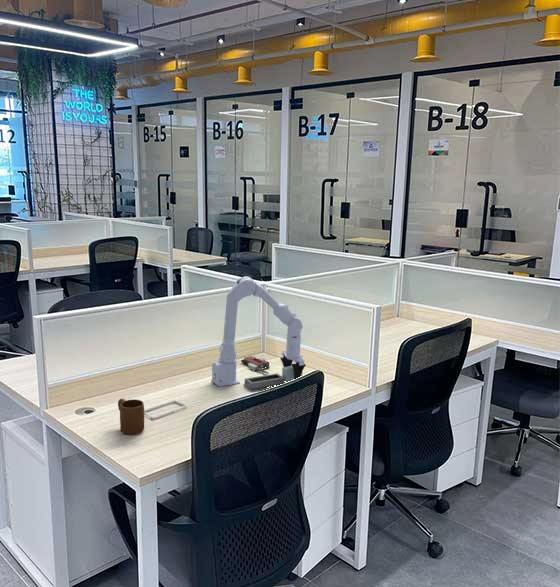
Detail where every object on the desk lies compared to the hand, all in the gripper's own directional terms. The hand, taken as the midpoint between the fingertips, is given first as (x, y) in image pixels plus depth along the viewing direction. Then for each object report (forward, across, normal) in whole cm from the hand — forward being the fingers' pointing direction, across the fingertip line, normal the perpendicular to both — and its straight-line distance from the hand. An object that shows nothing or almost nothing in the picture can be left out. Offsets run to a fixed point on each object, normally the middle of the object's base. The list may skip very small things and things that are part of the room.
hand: (292, 376), depth 232 cm
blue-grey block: (+2, 0, 0) cm, 2 cm away
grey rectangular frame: (+2, -7, +57) cm, 57 cm away
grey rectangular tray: (+2, 0, +13) cm, 13 cm away
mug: (+2, -16, +72) cm, 74 cm away
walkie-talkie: (+2, +20, +5) cm, 21 cm away
